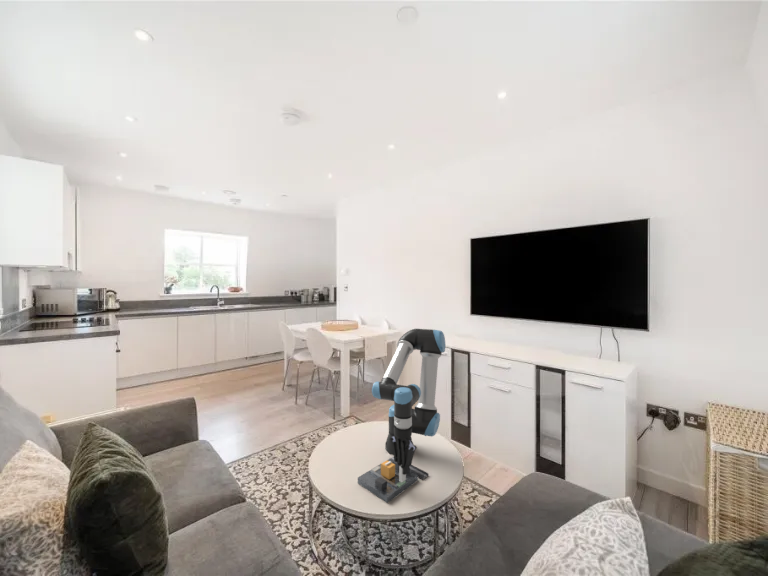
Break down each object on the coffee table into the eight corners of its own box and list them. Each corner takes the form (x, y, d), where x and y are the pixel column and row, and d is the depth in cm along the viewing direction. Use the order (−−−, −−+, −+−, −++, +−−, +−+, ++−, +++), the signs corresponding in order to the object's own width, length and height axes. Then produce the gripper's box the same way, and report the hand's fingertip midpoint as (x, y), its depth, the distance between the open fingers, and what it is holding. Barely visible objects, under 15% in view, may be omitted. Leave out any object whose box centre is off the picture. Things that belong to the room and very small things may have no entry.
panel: (388, 464, 155) (388, 453, 155) (417, 480, 142) (417, 468, 142) (357, 483, 140) (357, 470, 140) (387, 503, 128) (387, 489, 128)
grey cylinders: (394, 457, 161) (394, 455, 161) (429, 476, 146) (429, 473, 146) (388, 461, 157) (388, 458, 157) (423, 480, 142) (423, 477, 142)
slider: (386, 470, 144) (387, 458, 144) (395, 475, 141) (395, 463, 141) (380, 474, 142) (380, 462, 141) (389, 479, 138) (389, 467, 138)
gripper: (385, 423, 137) (385, 477, 137) (409, 433, 128) (408, 491, 128) (397, 418, 142) (396, 470, 143) (420, 427, 133) (420, 483, 134)
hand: (402, 480), depth 135 cm, fingers closed
